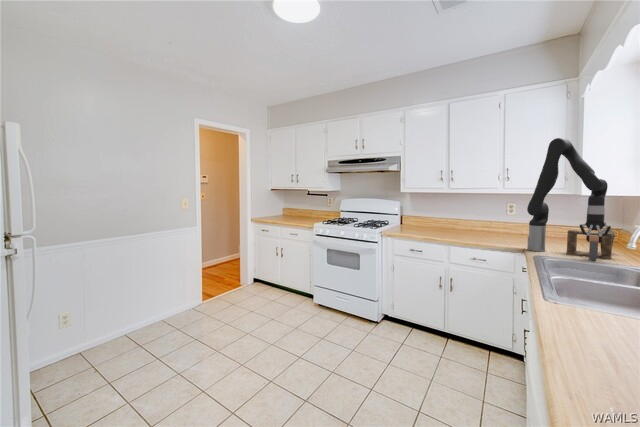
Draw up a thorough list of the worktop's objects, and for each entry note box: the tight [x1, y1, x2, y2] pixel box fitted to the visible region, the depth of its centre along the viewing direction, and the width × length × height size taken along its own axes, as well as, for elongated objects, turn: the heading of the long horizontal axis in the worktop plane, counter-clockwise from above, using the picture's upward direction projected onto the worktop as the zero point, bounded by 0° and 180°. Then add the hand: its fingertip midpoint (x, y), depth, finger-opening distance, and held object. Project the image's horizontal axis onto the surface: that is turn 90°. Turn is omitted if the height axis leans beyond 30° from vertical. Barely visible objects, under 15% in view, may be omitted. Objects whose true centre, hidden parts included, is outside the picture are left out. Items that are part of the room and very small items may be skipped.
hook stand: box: [565, 229, 613, 260], centre depth 180 cm, size 20×10×15 cm, turn 42°
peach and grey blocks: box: [588, 235, 599, 262], centre depth 170 cm, size 4×9×14 cm, turn 132°
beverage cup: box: [599, 221, 616, 253], centre depth 186 cm, size 7×7×20 cm
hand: (594, 242), depth 170 cm, fingers closed on peach and grey blocks, 4 cm apart
